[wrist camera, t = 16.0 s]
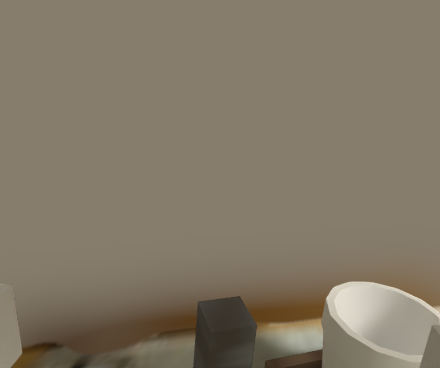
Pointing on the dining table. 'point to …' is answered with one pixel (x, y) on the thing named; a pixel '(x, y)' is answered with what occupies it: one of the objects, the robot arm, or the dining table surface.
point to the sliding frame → (236, 338)
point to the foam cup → (375, 327)
